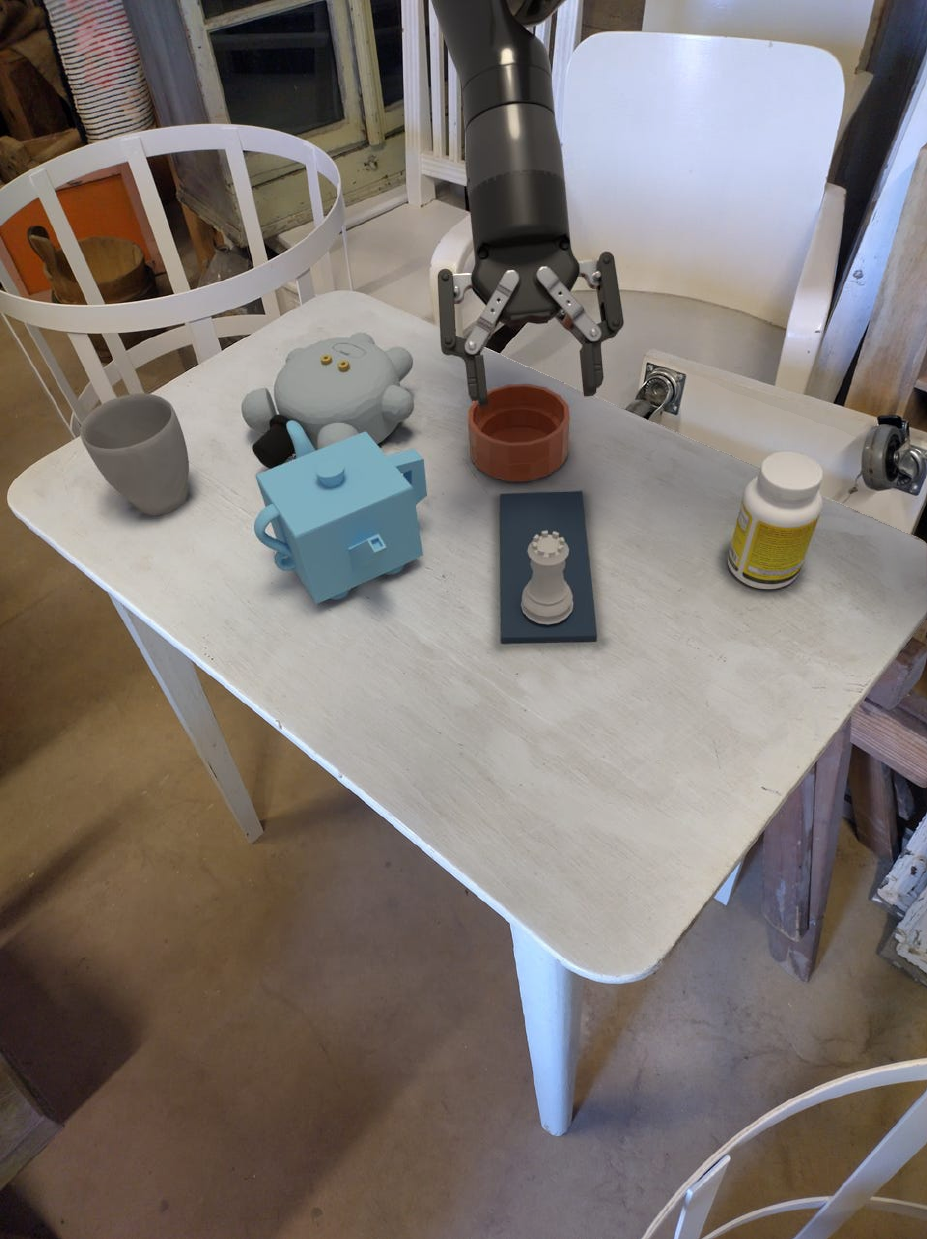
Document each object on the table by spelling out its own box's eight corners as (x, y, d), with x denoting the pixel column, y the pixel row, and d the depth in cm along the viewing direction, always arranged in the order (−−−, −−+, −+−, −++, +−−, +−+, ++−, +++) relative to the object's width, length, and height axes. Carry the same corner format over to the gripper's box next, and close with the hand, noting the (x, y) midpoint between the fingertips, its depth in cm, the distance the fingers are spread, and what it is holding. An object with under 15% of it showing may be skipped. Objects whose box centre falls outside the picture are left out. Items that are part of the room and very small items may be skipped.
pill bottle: (813, 570, 72) (851, 473, 63) (764, 603, 70) (796, 507, 61) (760, 531, 75) (789, 435, 67) (711, 561, 73) (734, 465, 65)
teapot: (313, 654, 69) (281, 563, 61) (240, 531, 80) (205, 438, 71) (472, 579, 74) (464, 484, 65) (384, 471, 84) (367, 377, 76)
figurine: (340, 356, 97) (222, 461, 90) (321, 293, 91) (191, 401, 83) (455, 402, 90) (338, 521, 82) (444, 337, 83) (314, 460, 75)
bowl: (564, 421, 88) (566, 381, 84) (570, 483, 81) (572, 443, 77) (471, 425, 88) (469, 385, 84) (470, 486, 82) (467, 447, 78)
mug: (222, 491, 84) (192, 414, 76) (151, 539, 80) (112, 462, 72) (155, 447, 89) (121, 370, 82) (86, 490, 85) (43, 413, 78)
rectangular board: (500, 499, 80) (500, 493, 80) (581, 496, 80) (582, 490, 79) (501, 643, 69) (501, 637, 68) (596, 641, 68) (597, 635, 68)
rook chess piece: (545, 580, 72) (546, 514, 66) (583, 606, 70) (588, 540, 64) (510, 608, 70) (508, 543, 64) (549, 636, 68) (550, 571, 62)
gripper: (423, 176, 59) (447, 401, 61) (617, 155, 59) (636, 381, 61) (426, 218, 67) (448, 417, 68) (599, 199, 67) (617, 399, 68)
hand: (537, 400), depth 65 cm, fingers open, 8 cm apart
